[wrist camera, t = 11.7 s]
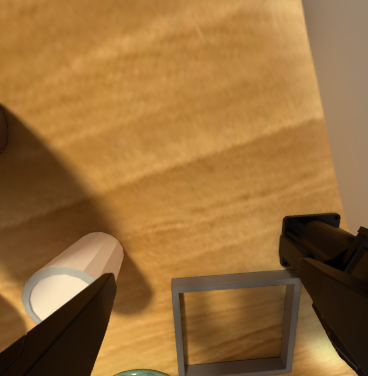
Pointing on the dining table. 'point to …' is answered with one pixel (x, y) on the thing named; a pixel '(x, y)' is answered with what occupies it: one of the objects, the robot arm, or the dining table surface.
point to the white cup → (71, 274)
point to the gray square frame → (246, 369)
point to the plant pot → (3, 131)
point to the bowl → (141, 373)
